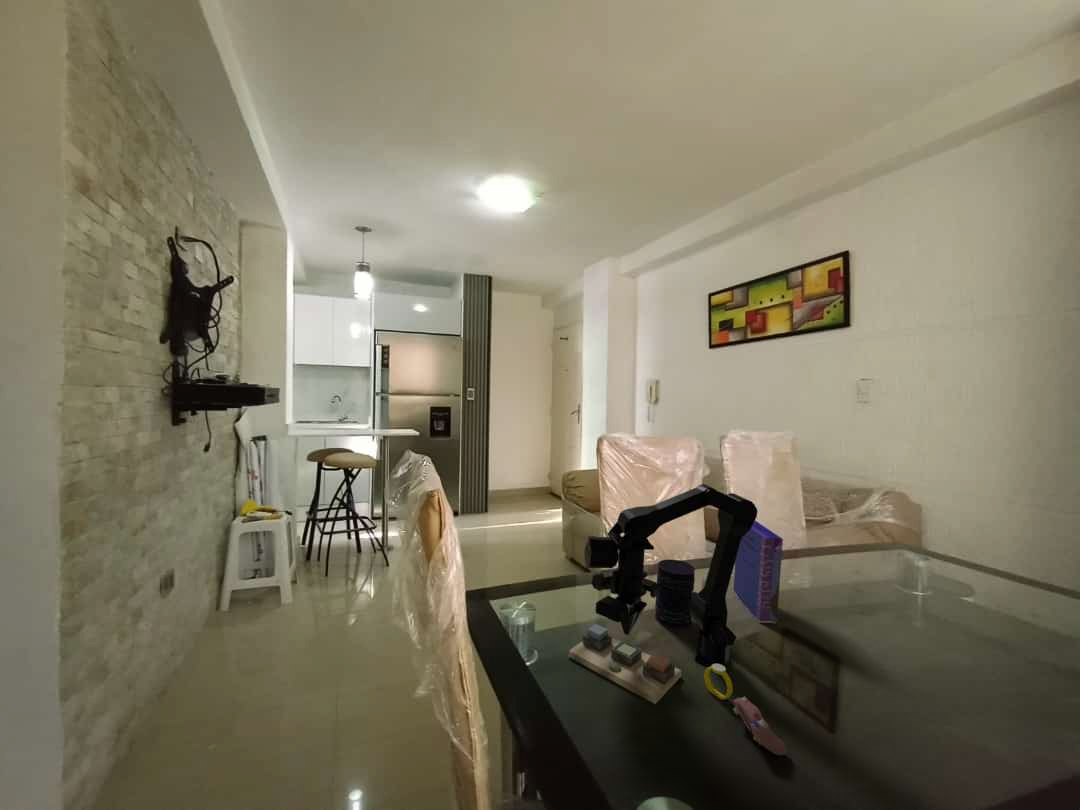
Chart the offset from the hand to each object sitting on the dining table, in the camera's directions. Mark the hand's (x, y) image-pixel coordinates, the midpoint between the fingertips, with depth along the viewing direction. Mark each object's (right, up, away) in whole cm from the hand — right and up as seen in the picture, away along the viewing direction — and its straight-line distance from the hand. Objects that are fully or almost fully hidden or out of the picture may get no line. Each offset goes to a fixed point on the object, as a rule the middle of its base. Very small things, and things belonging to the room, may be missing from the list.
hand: (626, 633), depth 103 cm
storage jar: (+17, -7, +21) cm, 28 cm away
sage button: (0, -6, 0) cm, 6 cm away
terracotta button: (+6, -5, -5) cm, 9 cm away
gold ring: (+17, -9, -9) cm, 21 cm away
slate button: (-6, -4, +5) cm, 9 cm away
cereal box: (+43, -8, +30) cm, 53 cm away
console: (-1, -7, -1) cm, 7 cm away
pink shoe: (+20, -9, -20) cm, 30 cm away
